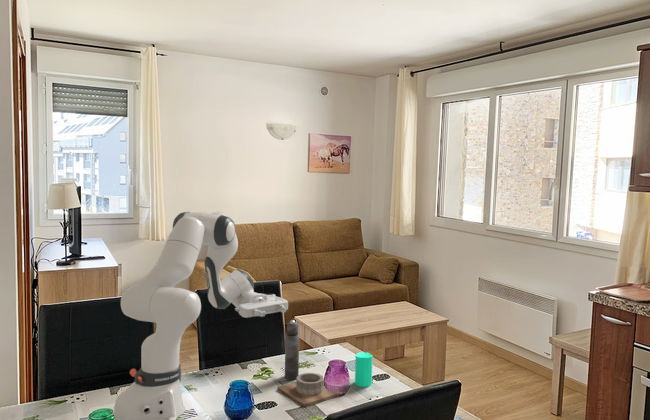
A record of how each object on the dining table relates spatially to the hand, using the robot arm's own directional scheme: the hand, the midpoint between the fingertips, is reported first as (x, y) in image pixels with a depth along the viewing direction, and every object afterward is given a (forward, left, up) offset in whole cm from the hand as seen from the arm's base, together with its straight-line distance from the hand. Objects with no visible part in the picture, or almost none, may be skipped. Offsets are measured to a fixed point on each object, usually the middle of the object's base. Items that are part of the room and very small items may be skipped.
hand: (274, 312), depth 192 cm
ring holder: (-2, -27, -21) cm, 34 cm away
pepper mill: (0, -13, -21) cm, 25 cm away
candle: (+18, -32, -21) cm, 42 cm away
